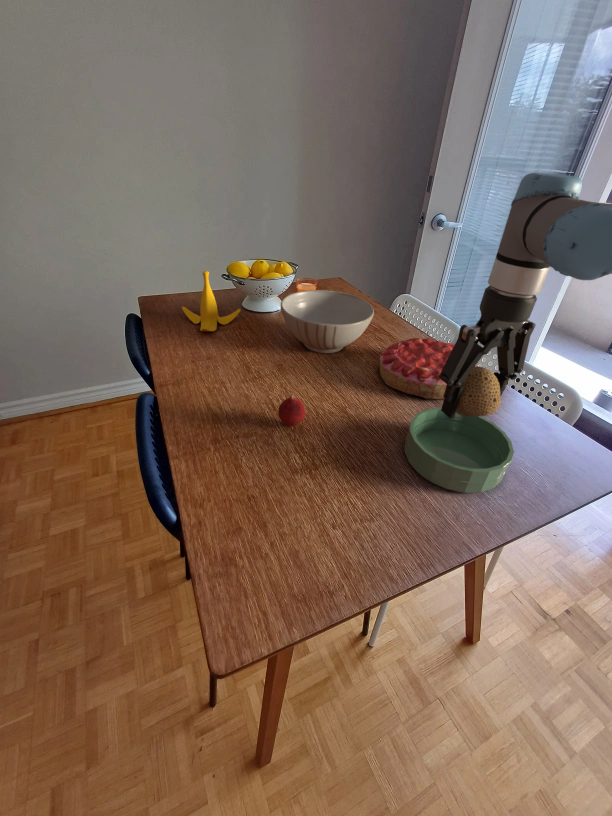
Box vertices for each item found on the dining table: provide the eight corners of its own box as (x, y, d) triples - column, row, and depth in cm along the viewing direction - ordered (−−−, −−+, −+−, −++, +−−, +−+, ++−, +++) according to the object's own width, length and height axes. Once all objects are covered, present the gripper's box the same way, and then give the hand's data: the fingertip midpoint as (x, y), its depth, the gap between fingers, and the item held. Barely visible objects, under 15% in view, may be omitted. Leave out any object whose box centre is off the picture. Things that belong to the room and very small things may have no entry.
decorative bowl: (307, 373, 106) (310, 331, 99) (265, 333, 124) (265, 295, 117) (385, 355, 117) (393, 316, 110) (336, 320, 136) (340, 285, 129)
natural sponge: (502, 422, 74) (522, 376, 68) (470, 436, 70) (489, 388, 64) (463, 398, 80) (478, 353, 74) (432, 410, 76) (445, 364, 70)
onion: (308, 430, 86) (311, 399, 82) (284, 436, 84) (285, 405, 80) (297, 415, 91) (299, 385, 86) (274, 421, 88) (274, 390, 84)
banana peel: (183, 315, 132) (177, 264, 122) (241, 317, 133) (239, 266, 123) (172, 337, 118) (164, 281, 108) (237, 339, 120) (234, 284, 110)
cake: (495, 386, 104) (503, 358, 100) (425, 414, 94) (431, 385, 89) (426, 351, 122) (431, 326, 118) (361, 371, 112) (363, 345, 107)
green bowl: (524, 480, 78) (536, 458, 74) (442, 505, 71) (451, 482, 68) (459, 422, 92) (466, 400, 89) (386, 438, 86) (391, 416, 82)
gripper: (544, 278, 67) (499, 390, 80) (438, 286, 60) (407, 408, 73) (583, 293, 62) (528, 411, 75) (471, 304, 55) (432, 432, 67)
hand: (468, 409), depth 74 cm, fingers closed on natural sponge, 9 cm apart
